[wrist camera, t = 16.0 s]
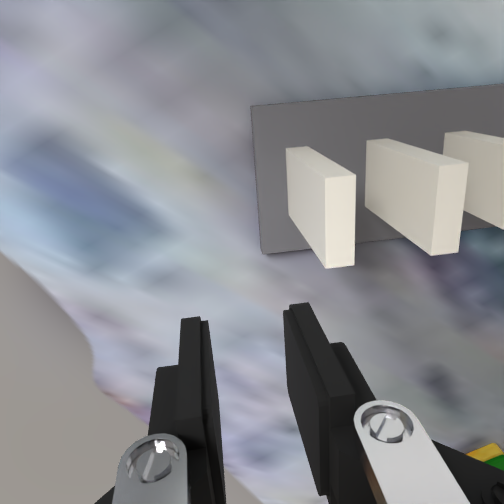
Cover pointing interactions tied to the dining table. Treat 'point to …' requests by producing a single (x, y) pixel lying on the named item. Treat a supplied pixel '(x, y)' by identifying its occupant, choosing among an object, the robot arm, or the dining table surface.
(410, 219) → the domino
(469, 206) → the domino
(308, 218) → the domino
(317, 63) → the dining table surface
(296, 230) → the mat
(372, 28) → the dining table surface
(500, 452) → the dish sponge
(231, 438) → the dining table surface
